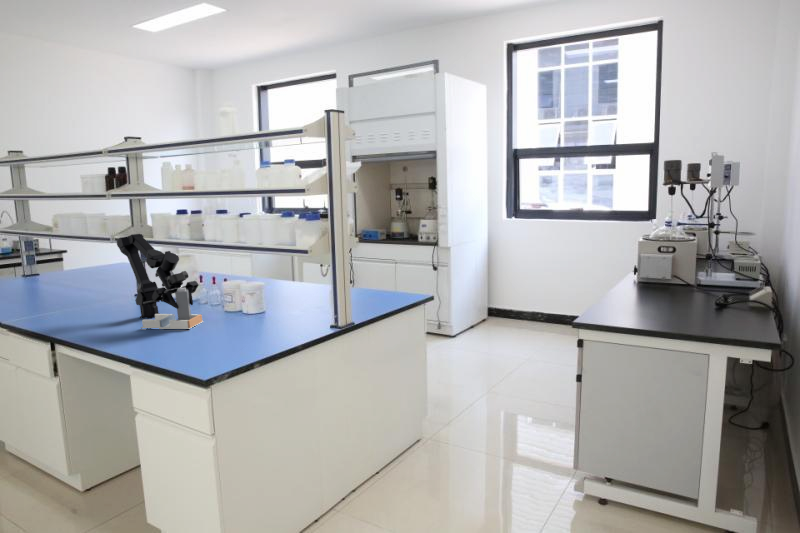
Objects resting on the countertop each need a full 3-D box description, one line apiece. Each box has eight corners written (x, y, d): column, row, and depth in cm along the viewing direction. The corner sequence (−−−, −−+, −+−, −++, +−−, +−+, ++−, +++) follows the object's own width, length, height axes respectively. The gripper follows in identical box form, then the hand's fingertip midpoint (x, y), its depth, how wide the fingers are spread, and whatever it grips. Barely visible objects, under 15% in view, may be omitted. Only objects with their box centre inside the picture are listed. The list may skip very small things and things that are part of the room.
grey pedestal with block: (178, 323, 221) (174, 289, 218) (180, 320, 225) (176, 287, 222) (190, 322, 222) (186, 289, 219) (191, 319, 226) (187, 286, 223)
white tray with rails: (141, 329, 221) (139, 320, 221) (157, 321, 232) (156, 313, 231) (189, 330, 218) (188, 321, 217) (203, 322, 228) (202, 314, 227)
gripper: (152, 269, 214) (170, 299, 210) (193, 262, 229) (211, 290, 224) (144, 286, 220) (161, 316, 216) (185, 278, 235) (202, 305, 230)
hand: (185, 306), depth 221 cm, fingers closed on grey pedestal with block, 6 cm apart
